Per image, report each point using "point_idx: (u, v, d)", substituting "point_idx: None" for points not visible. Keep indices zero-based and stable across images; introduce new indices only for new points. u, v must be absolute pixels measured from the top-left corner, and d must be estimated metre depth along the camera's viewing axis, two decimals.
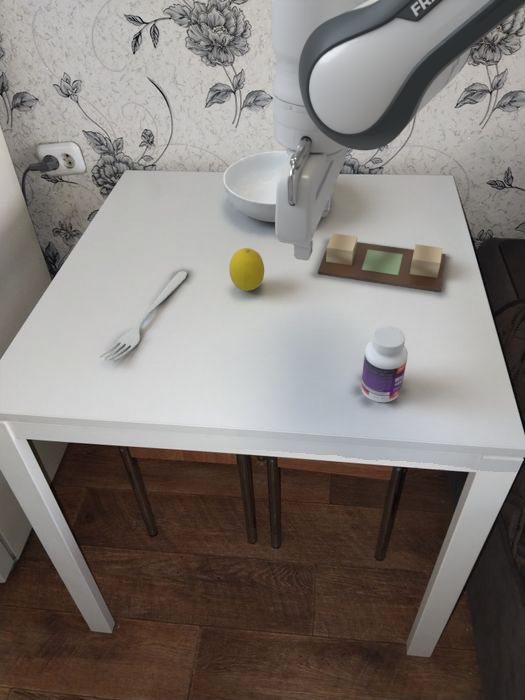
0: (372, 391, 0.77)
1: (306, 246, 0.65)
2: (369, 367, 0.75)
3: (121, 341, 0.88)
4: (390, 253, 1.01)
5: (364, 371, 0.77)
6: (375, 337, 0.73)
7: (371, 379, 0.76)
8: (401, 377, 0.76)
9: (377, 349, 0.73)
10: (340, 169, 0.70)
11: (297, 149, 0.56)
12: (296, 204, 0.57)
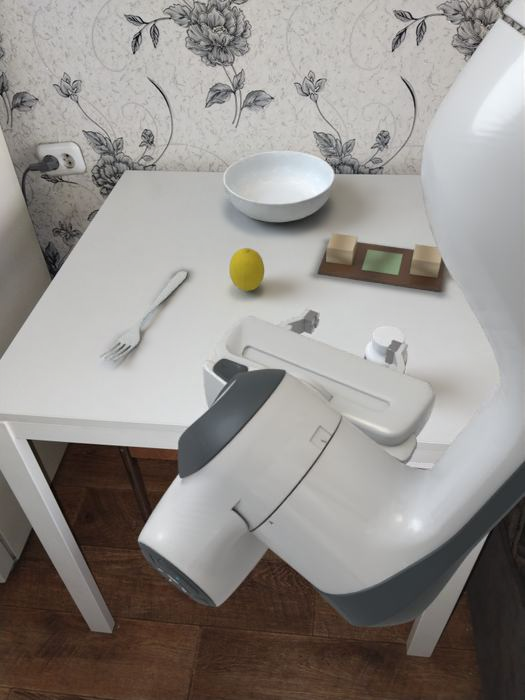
0: None
1: None
2: None
3: (121, 341, 0.88)
4: (390, 253, 1.01)
5: None
6: (375, 337, 0.73)
7: None
8: None
9: (377, 349, 0.73)
10: (276, 329, 0.56)
11: None
12: (413, 432, 0.49)
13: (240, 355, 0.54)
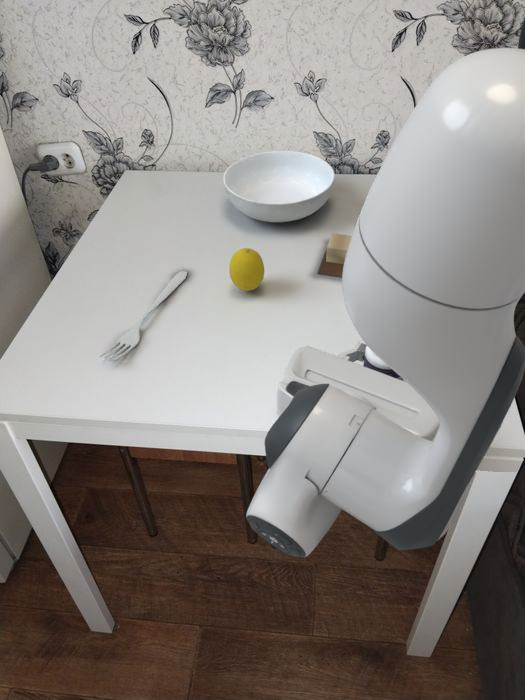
0: None
1: None
2: (369, 367, 0.75)
3: (121, 341, 0.88)
4: None
5: None
6: None
7: None
8: (401, 377, 0.76)
9: None
10: (328, 356, 0.74)
11: None
12: (436, 433, 0.67)
13: (303, 377, 0.72)
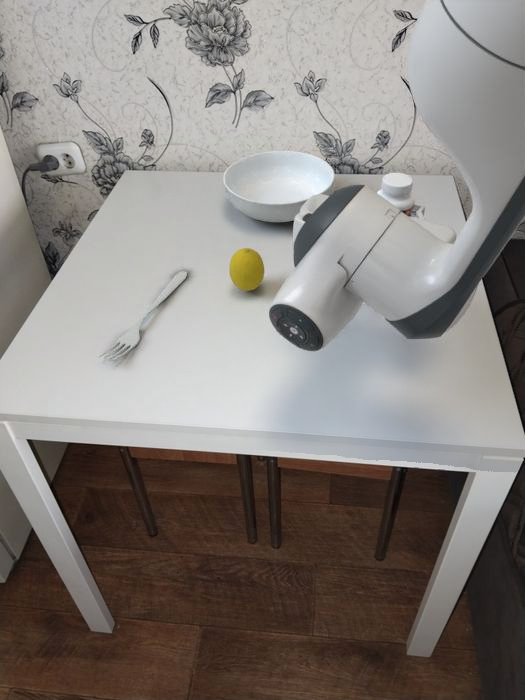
0: None
1: None
2: None
3: (121, 341, 0.88)
4: None
5: None
6: (385, 180, 0.78)
7: None
8: None
9: (386, 191, 0.78)
10: None
11: None
12: None
13: None
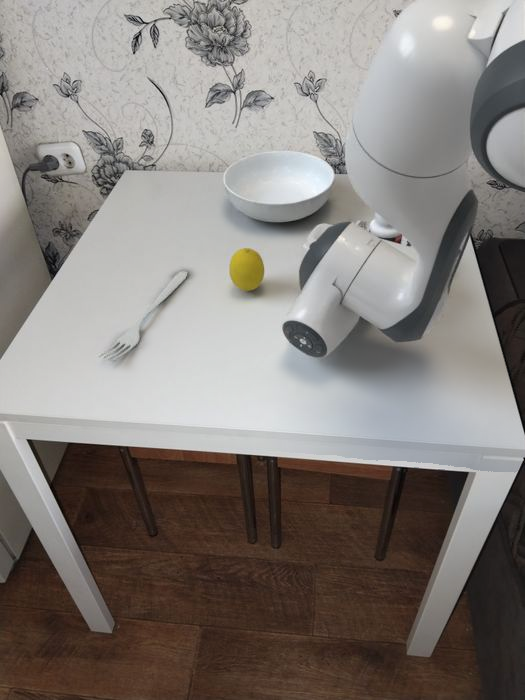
0: None
1: None
2: None
3: (120, 341, 0.88)
4: None
5: None
6: None
7: None
8: None
9: (379, 221, 0.92)
10: None
11: None
12: None
13: None
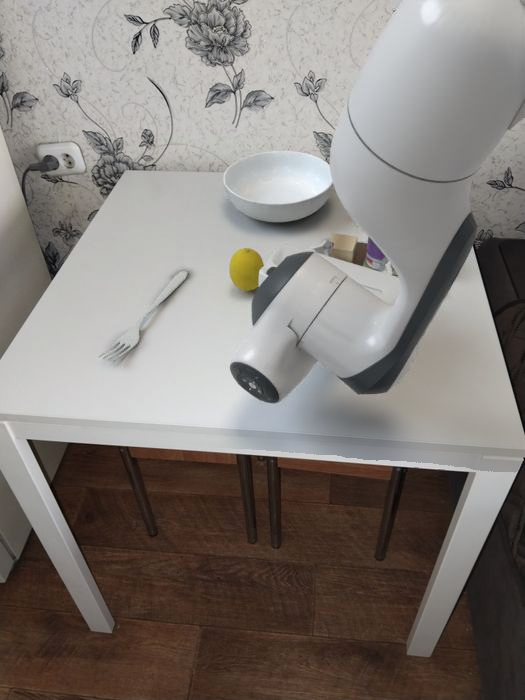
0: (375, 260, 0.96)
1: (390, 268, 0.82)
2: None
3: (120, 341, 0.88)
4: None
5: (368, 244, 0.96)
6: None
7: (374, 249, 0.95)
8: None
9: None
10: (305, 251, 0.83)
11: None
12: None
13: None
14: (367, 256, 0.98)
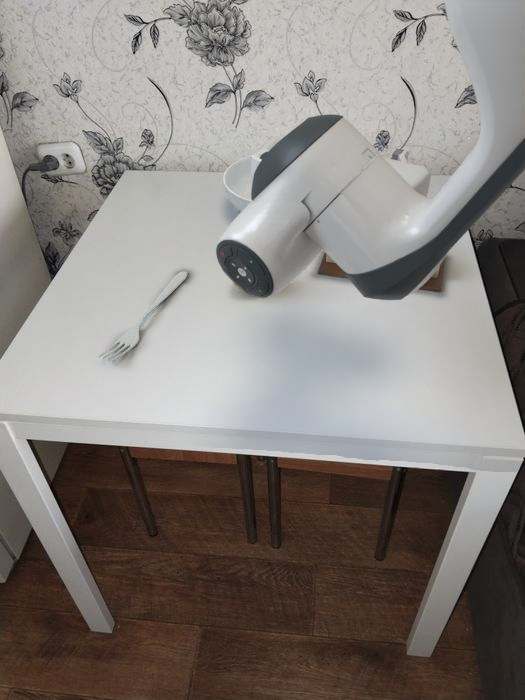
0: None
1: None
2: None
3: (120, 341, 0.88)
4: None
5: None
6: None
7: None
8: None
9: None
10: None
11: None
12: None
13: None
14: None
